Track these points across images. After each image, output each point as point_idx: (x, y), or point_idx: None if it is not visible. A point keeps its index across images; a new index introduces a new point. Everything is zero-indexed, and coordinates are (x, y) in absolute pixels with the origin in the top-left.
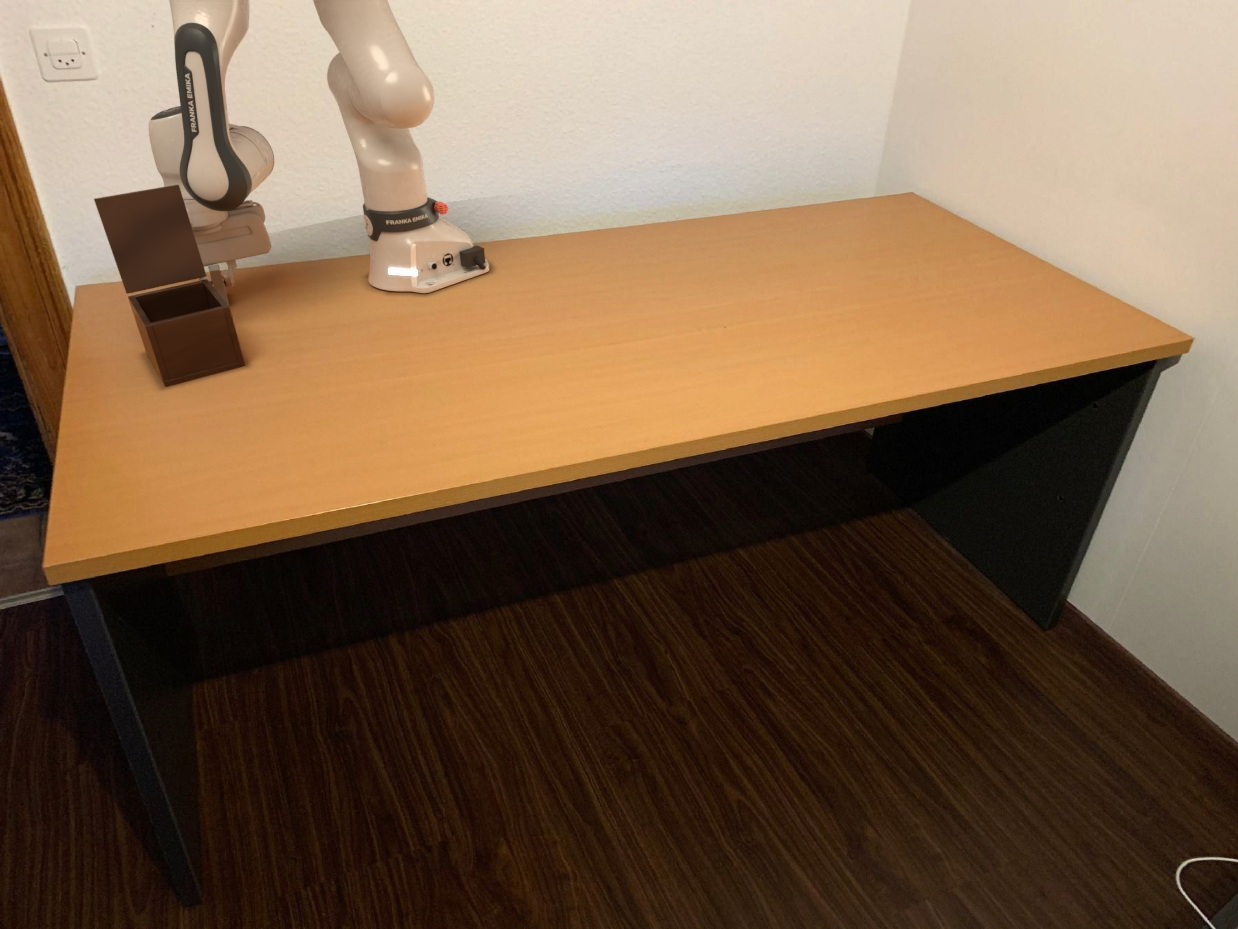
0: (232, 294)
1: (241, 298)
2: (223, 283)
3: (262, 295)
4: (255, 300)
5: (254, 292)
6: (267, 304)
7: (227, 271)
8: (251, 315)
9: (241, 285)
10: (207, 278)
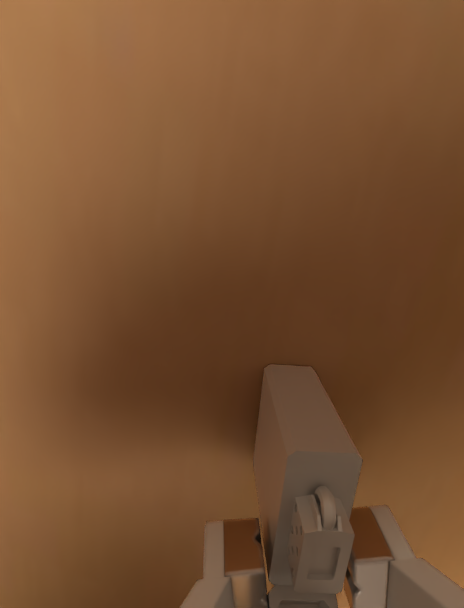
0: (345, 359)
1: (367, 429)
2: None
3: (460, 440)
4: (412, 479)
5: (445, 387)
6: (437, 538)
7: (408, 588)
8: (346, 602)
9: (427, 252)
10: (249, 579)
